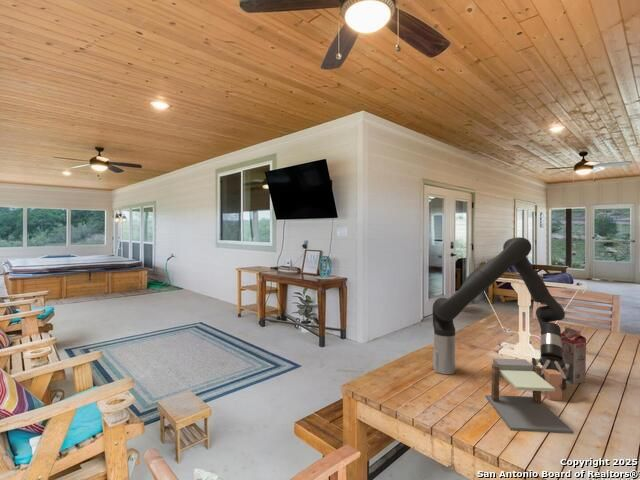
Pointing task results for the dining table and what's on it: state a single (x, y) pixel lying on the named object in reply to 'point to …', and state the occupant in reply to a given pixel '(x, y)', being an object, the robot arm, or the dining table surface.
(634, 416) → the dining table surface
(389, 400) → the dining table surface
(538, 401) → the posts
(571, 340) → the juice carton
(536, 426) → the mat
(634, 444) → the dining table surface
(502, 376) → the trapdoor
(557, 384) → the brick
